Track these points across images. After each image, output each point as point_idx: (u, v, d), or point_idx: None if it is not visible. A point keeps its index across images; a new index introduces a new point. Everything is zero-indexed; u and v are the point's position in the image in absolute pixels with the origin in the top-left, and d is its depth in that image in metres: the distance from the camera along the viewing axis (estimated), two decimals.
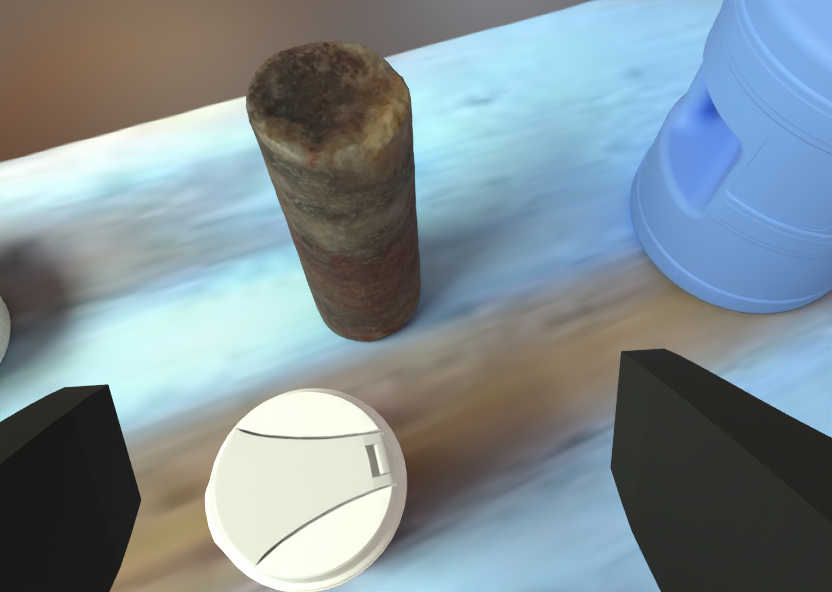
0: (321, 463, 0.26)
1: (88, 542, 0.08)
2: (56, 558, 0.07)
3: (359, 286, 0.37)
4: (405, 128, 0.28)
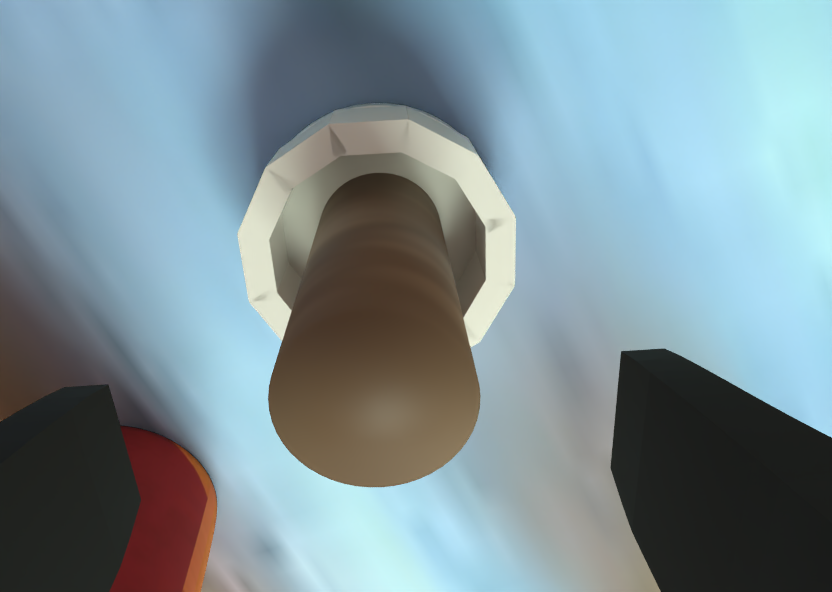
0: None
1: (89, 541, 0.08)
2: (56, 559, 0.08)
3: None
4: None
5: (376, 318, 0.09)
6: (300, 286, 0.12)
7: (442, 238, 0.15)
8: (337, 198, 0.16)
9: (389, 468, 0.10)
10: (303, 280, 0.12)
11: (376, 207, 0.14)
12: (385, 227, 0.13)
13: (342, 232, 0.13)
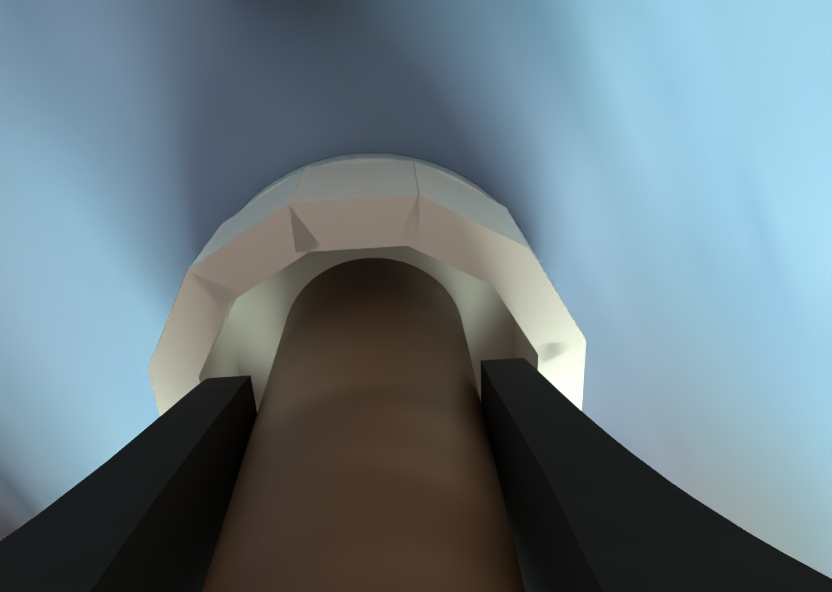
0: None
1: None
2: None
3: None
4: None
5: None
6: (225, 523, 0.07)
7: (472, 381, 0.09)
8: (307, 305, 0.10)
9: None
10: (230, 512, 0.07)
11: (366, 343, 0.08)
12: (380, 402, 0.07)
13: (305, 407, 0.07)
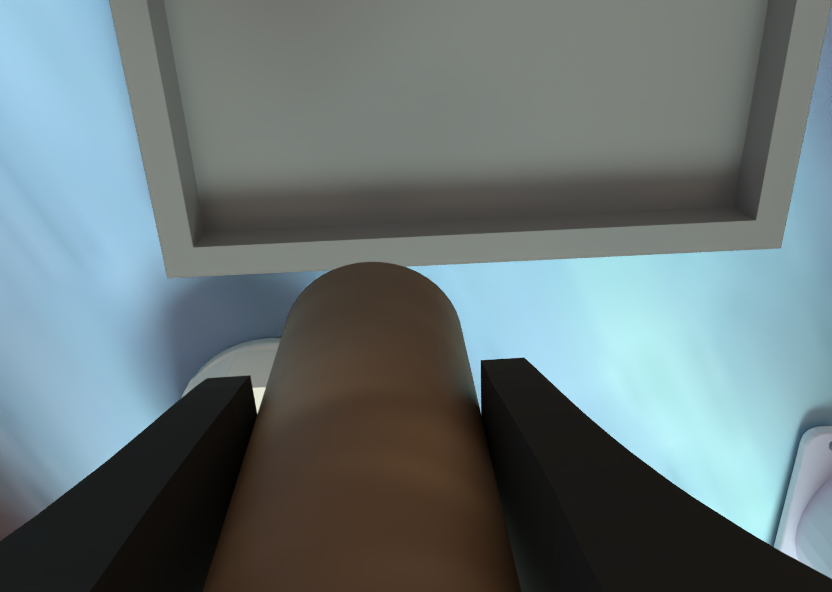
0: None
1: None
2: None
3: None
4: None
5: None
6: (226, 524, 0.07)
7: (472, 389, 0.09)
8: (309, 307, 0.10)
9: None
10: (232, 513, 0.07)
11: (369, 348, 0.08)
12: (384, 409, 0.07)
13: (309, 410, 0.07)
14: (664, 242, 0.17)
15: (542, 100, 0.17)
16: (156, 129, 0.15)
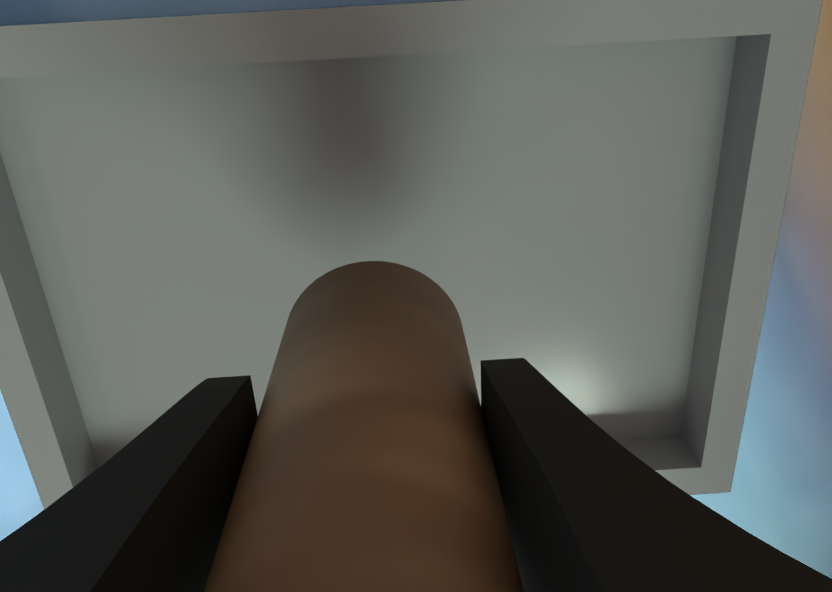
0: None
1: None
2: None
3: None
4: None
5: None
6: (229, 522, 0.07)
7: (474, 389, 0.09)
8: (312, 306, 0.10)
9: None
10: (235, 511, 0.07)
11: (372, 347, 0.08)
12: (389, 408, 0.07)
13: (312, 409, 0.07)
14: None
15: None
16: (27, 401, 0.14)
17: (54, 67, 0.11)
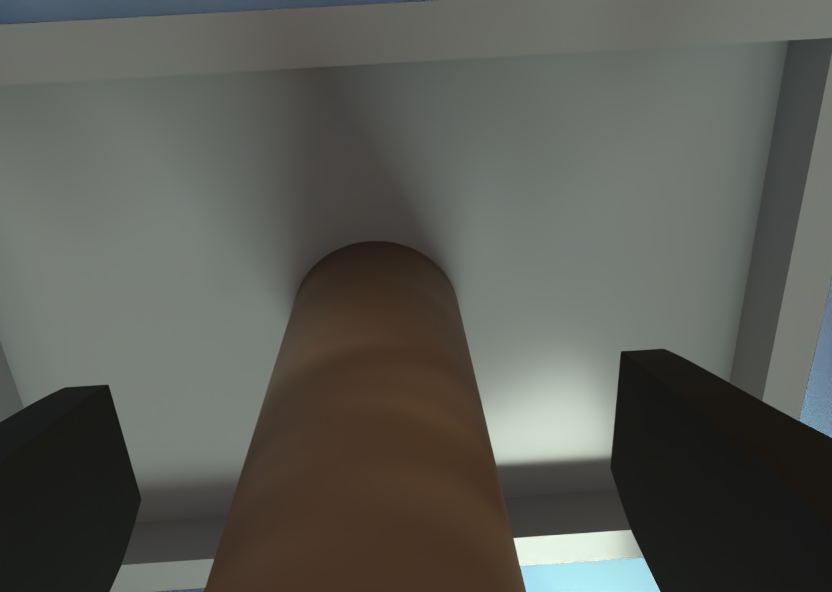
0: None
1: (89, 541, 0.08)
2: (56, 559, 0.07)
3: None
4: None
5: None
6: (249, 456, 0.08)
7: (468, 353, 0.10)
8: (319, 280, 0.11)
9: None
10: (254, 447, 0.08)
11: (375, 312, 0.09)
12: (389, 361, 0.08)
13: (322, 362, 0.08)
14: (624, 547, 0.14)
15: None
16: None
17: None
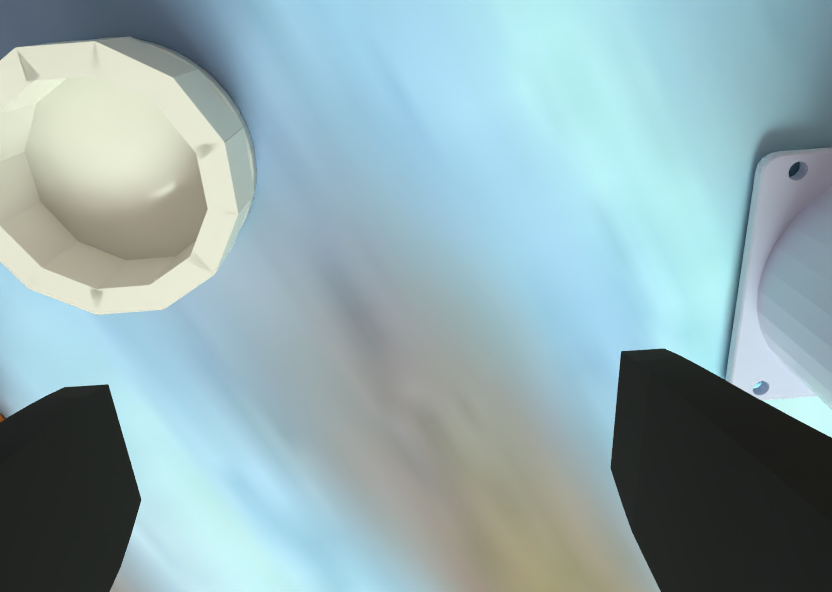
0: None
1: (88, 542, 0.08)
2: (56, 559, 0.07)
3: None
4: None
5: None
6: None
7: None
8: None
9: None
10: None
11: None
12: None
13: None
14: None
15: None
16: None
17: None
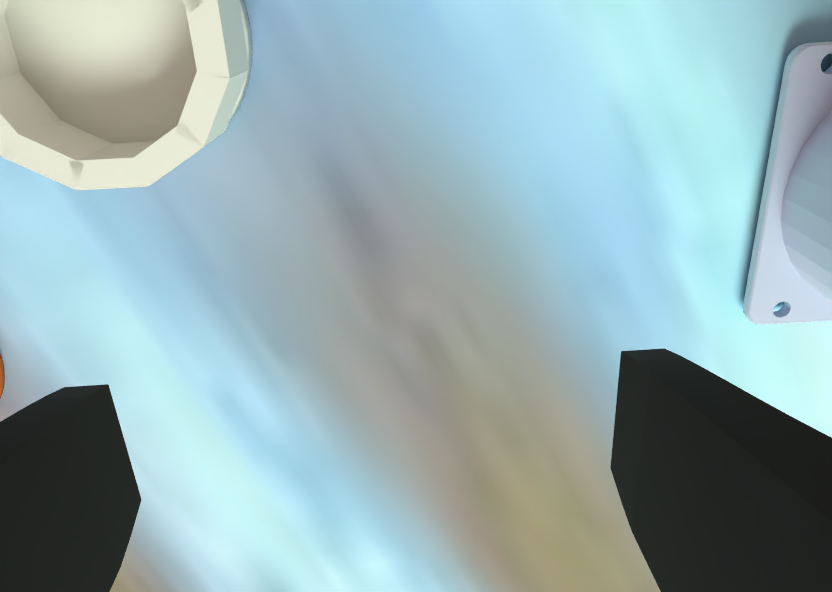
0: None
1: (88, 541, 0.08)
2: (56, 558, 0.07)
3: None
4: None
5: None
6: None
7: None
8: None
9: None
10: None
11: None
12: None
13: None
14: None
15: None
16: None
17: None
